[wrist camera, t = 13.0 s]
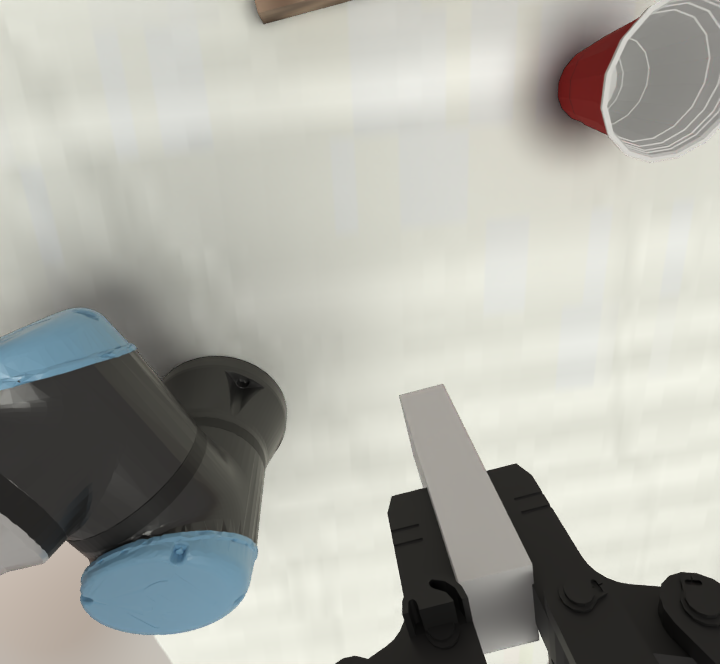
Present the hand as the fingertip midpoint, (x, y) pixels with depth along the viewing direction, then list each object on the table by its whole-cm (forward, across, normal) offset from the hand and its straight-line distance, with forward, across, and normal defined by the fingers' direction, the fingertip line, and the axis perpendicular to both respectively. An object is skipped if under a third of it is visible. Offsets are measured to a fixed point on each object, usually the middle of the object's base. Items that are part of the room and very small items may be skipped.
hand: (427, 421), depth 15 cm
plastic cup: (+33, +24, +6) cm, 41 cm away
